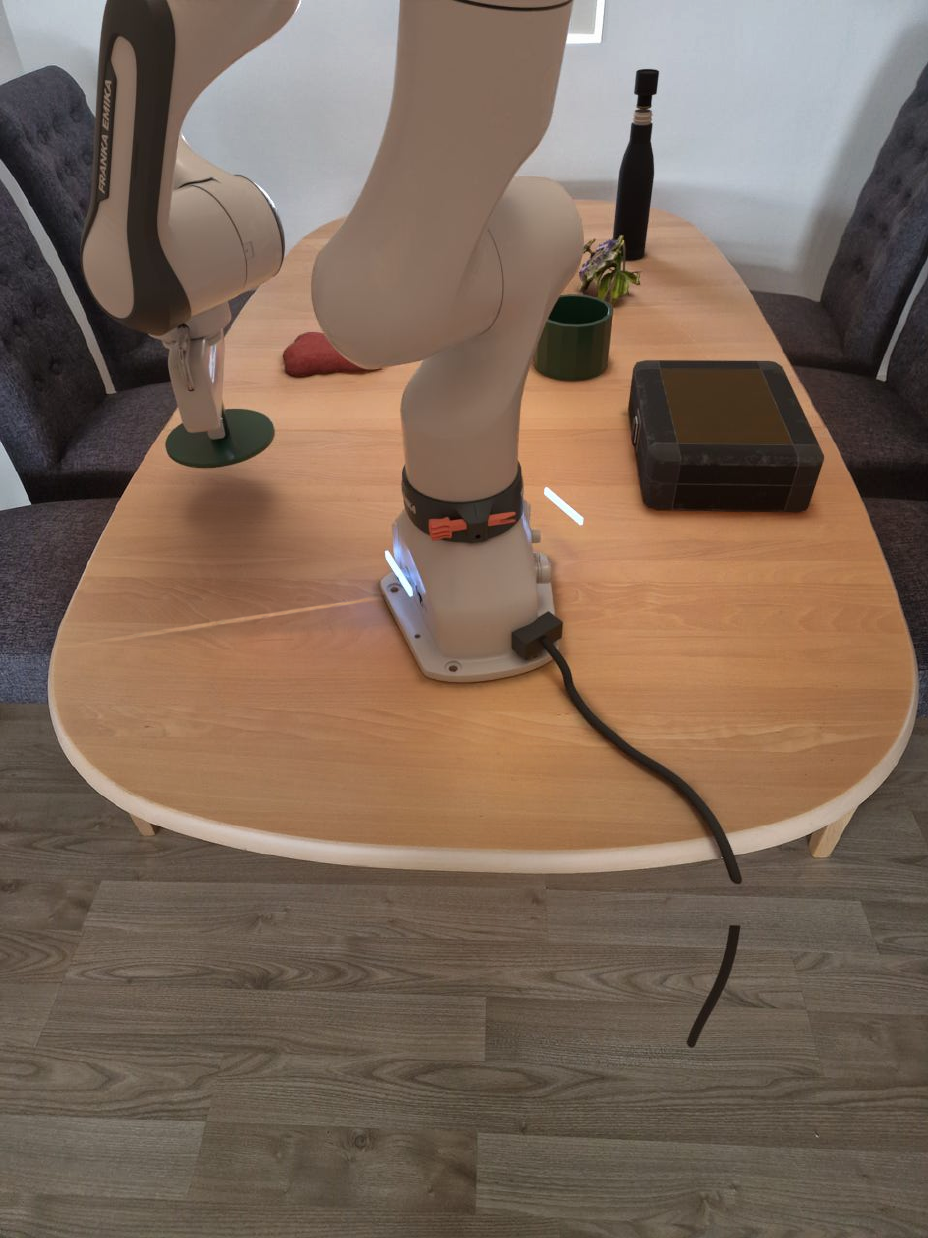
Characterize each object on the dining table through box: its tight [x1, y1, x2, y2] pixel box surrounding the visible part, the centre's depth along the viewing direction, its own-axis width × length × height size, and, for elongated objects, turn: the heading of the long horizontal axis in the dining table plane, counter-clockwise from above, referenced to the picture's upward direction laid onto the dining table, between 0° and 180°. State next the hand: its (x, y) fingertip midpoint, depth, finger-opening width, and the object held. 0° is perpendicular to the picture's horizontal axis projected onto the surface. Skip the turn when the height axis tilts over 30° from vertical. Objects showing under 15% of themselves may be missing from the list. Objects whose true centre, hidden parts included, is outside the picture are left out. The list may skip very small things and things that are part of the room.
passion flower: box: [577, 235, 643, 305], centre depth 141 cm, size 11×11×12 cm
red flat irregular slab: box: [282, 331, 376, 377], centre depth 128 cm, size 18×14×2 cm
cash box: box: [627, 359, 825, 514], centre depth 102 cm, size 25×20×8 cm
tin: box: [532, 293, 614, 382], centre depth 122 cm, size 11×11×8 cm
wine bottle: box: [612, 68, 660, 261], centre depth 147 cm, size 6×6×30 cm
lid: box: [164, 402, 276, 470], centre depth 92 cm, size 12×12×5 cm
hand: (218, 427), depth 92 cm, fingers closed on lid, 2 cm apart
